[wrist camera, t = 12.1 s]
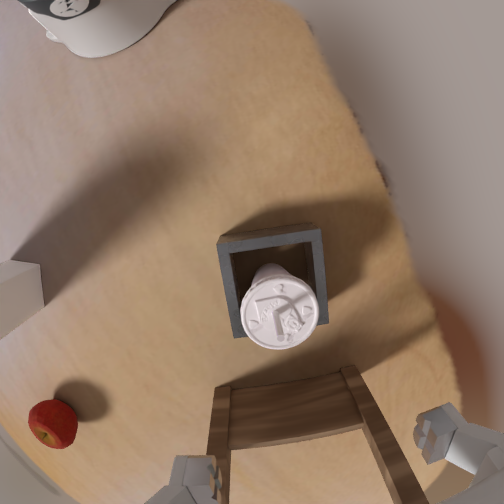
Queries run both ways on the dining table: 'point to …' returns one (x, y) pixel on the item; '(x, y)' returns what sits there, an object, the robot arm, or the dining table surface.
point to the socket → (264, 240)
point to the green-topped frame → (308, 424)
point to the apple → (53, 423)
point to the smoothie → (278, 309)
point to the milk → (19, 294)
